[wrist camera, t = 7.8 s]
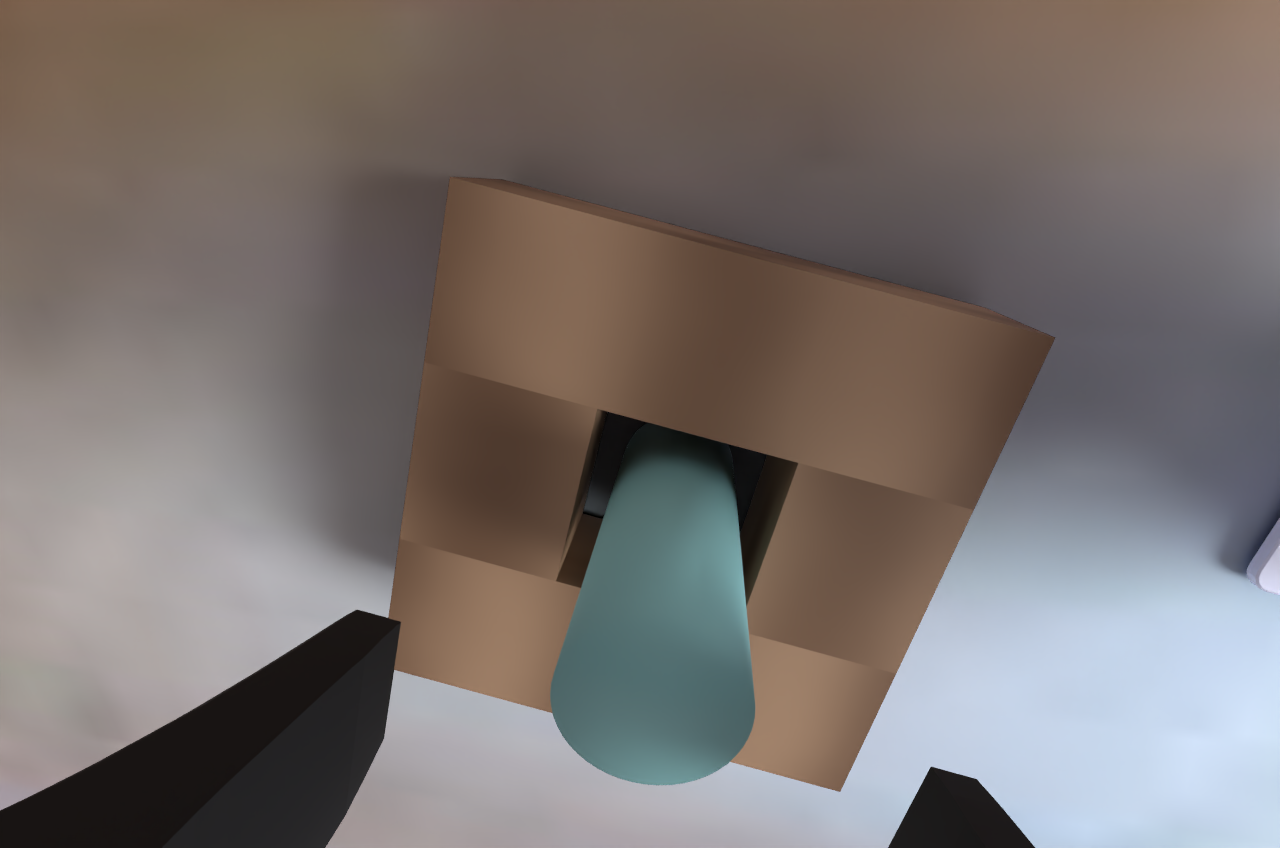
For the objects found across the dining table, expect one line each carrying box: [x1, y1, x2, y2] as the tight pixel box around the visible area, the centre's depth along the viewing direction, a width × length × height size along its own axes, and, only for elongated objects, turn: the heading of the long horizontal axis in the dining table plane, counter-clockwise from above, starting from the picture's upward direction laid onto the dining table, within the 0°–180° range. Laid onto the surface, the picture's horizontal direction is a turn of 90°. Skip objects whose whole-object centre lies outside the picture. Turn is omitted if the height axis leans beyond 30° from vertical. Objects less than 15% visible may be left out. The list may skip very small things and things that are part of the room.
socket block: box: [388, 177, 1055, 792], centre depth 17 cm, size 12×12×4 cm
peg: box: [550, 423, 755, 785], centre depth 14 cm, size 3×3×9 cm
